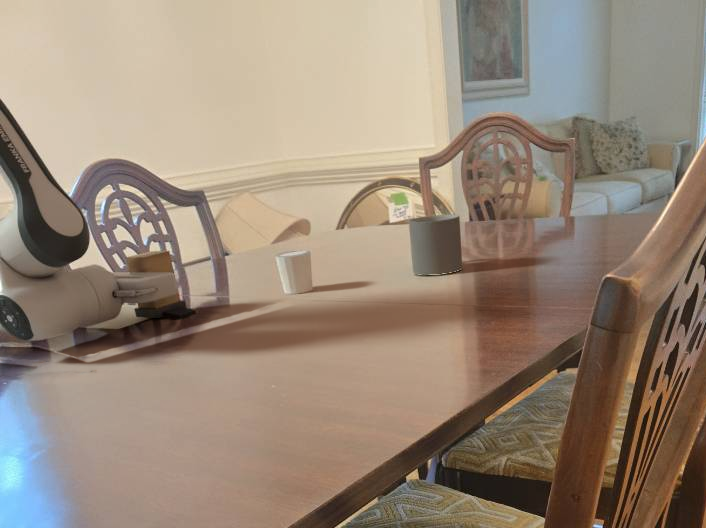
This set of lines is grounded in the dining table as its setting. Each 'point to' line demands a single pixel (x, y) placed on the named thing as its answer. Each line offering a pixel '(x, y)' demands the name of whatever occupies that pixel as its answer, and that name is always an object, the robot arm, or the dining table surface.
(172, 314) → the smudge
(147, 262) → the eraser
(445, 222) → the coffee mug
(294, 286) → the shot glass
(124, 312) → the note board
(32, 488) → the dining table surface
